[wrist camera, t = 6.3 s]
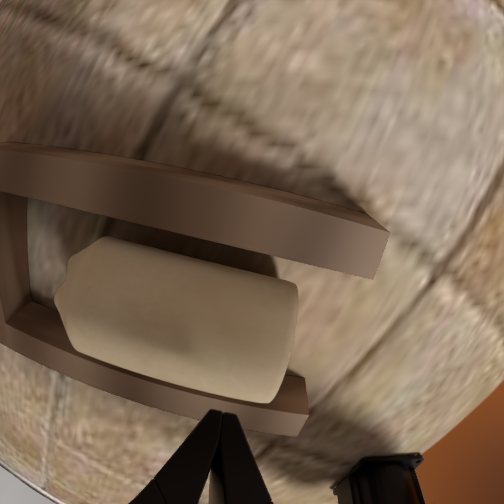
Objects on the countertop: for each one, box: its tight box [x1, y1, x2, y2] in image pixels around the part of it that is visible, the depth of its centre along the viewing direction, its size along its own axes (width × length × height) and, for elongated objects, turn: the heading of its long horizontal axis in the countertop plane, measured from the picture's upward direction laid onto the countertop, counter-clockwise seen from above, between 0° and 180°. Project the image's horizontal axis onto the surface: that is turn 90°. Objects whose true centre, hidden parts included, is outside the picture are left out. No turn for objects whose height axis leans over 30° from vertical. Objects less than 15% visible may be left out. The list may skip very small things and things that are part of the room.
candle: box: [54, 236, 298, 403], centre depth 13 cm, size 6×6×10 cm
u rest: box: [0, 142, 390, 437], centre depth 14 cm, size 20×12×3 cm, turn 77°
